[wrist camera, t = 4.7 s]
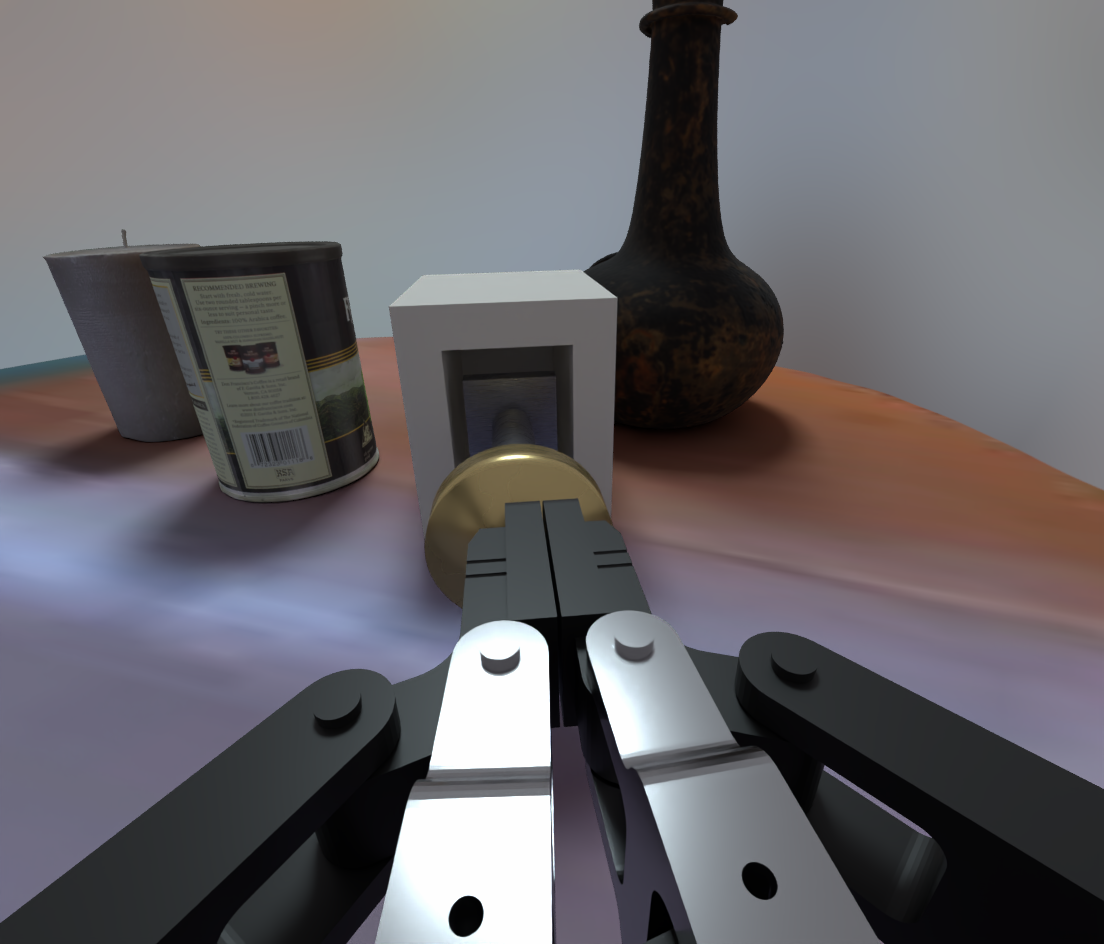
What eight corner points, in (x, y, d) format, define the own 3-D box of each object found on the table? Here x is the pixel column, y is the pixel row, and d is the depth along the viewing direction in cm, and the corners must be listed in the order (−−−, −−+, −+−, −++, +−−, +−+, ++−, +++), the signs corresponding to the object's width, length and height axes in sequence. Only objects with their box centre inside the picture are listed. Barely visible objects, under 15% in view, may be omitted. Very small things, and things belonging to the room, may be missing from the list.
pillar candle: (257, 397, 52) (207, 225, 45) (242, 431, 43) (178, 227, 37) (139, 412, 49) (67, 231, 42) (99, 452, 40) (1, 235, 34)
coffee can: (345, 428, 44) (306, 239, 37) (405, 468, 37) (369, 243, 30) (202, 466, 38) (126, 248, 31) (240, 523, 31) (152, 257, 24)
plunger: (611, 615, 19) (617, 457, 16) (436, 629, 18) (411, 470, 16) (571, 470, 29) (570, 359, 26) (458, 477, 28) (445, 365, 26)
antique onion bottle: (662, 369, 57) (686, 36, 44) (818, 418, 43) (914, -43, 31) (514, 403, 48) (492, 2, 36) (650, 476, 35) (689, -128, 22)
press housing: (610, 527, 29) (617, 297, 24) (424, 540, 29) (388, 306, 23) (580, 441, 40) (580, 269, 35) (444, 449, 39) (422, 275, 34)
